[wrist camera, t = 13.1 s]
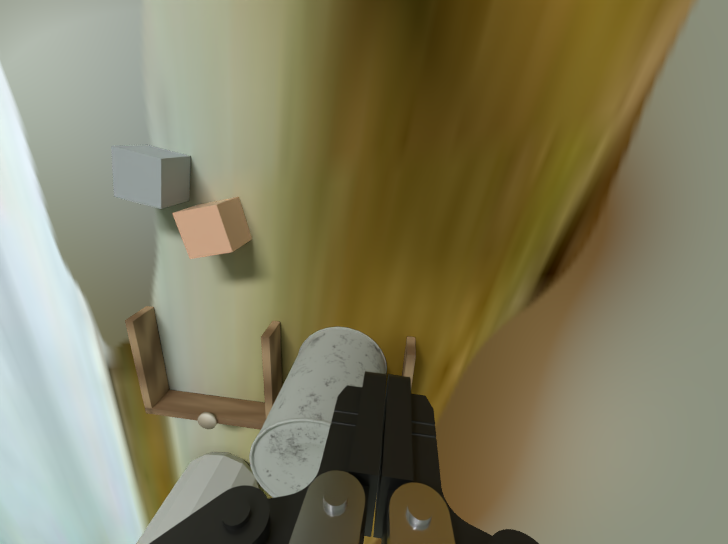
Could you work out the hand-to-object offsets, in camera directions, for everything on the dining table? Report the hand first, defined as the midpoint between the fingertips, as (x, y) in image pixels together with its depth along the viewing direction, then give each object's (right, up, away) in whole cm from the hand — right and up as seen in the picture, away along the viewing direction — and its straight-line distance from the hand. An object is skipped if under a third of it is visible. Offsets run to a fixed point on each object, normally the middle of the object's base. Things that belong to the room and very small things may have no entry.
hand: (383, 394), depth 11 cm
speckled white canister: (-3, -6, +25) cm, 26 cm away
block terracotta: (-14, +9, +20) cm, 26 cm away
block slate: (-18, +13, +19) cm, 30 cm away
